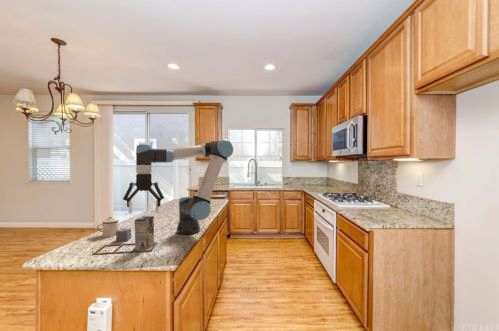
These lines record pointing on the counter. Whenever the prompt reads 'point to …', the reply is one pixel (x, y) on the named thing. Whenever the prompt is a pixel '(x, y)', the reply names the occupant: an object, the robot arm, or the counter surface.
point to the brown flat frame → (123, 251)
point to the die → (123, 234)
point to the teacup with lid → (109, 226)
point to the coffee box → (144, 233)
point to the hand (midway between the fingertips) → (143, 213)
